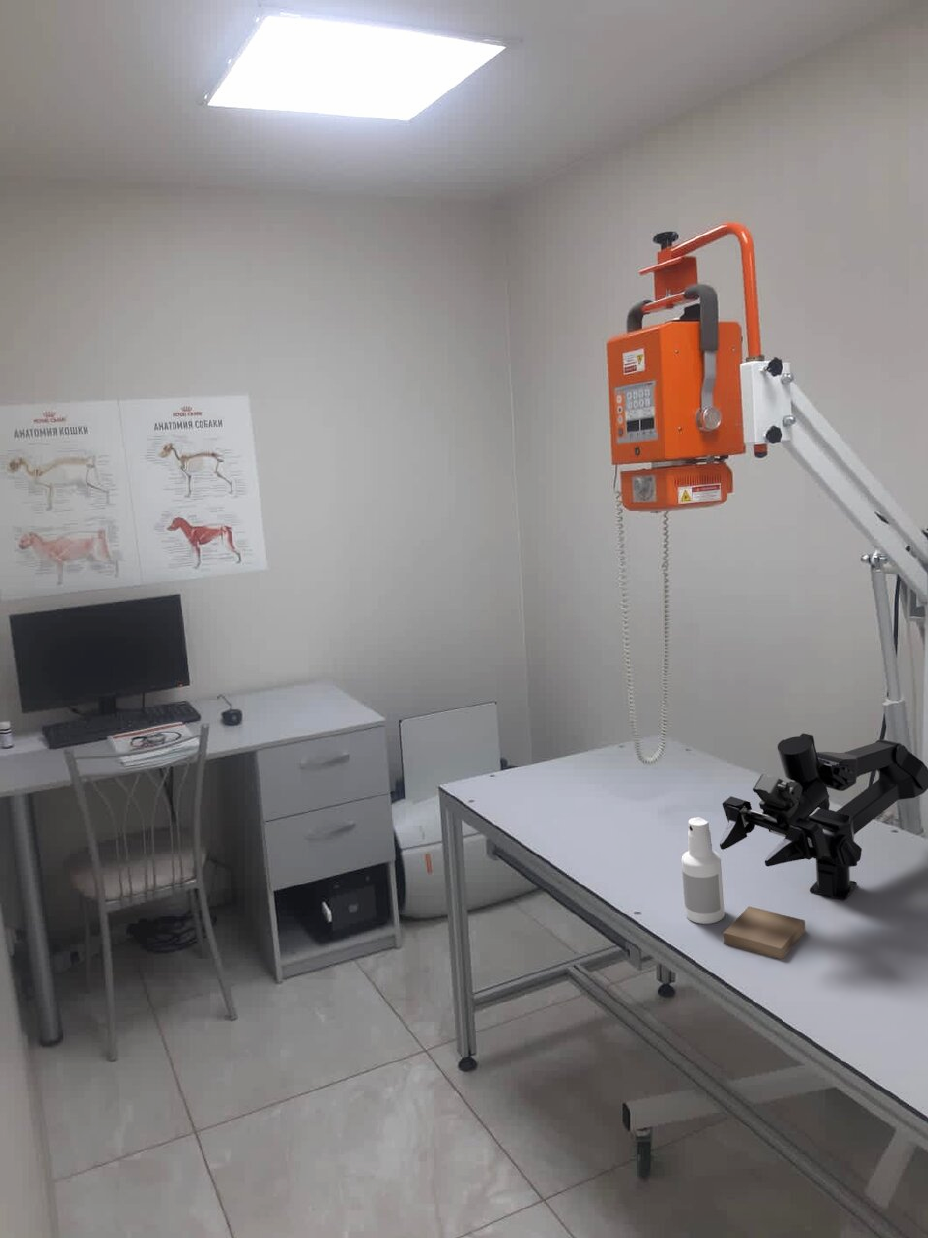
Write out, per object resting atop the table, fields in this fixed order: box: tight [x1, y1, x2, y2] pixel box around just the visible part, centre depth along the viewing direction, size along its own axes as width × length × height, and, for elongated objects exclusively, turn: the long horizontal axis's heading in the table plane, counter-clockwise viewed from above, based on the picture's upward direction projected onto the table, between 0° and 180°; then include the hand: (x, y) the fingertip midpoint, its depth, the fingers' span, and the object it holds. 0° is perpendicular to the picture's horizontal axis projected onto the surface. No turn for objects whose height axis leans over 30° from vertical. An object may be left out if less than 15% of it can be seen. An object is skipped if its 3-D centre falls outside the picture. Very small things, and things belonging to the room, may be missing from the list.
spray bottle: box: [680, 817, 726, 925], centre depth 173 cm, size 7×7×18 cm
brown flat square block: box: [723, 906, 806, 961], centre depth 165 cm, size 10×10×2 cm
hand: (742, 855), depth 162 cm, fingers open, 9 cm apart
